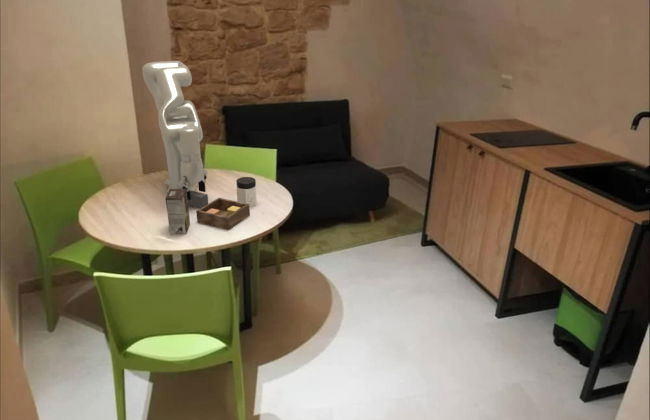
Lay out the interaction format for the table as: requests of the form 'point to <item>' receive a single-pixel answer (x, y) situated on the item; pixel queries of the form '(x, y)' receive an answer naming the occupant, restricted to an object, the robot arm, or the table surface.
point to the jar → (246, 190)
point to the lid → (197, 200)
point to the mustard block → (232, 210)
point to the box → (223, 213)
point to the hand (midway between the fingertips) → (195, 195)
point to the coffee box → (177, 211)
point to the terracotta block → (214, 211)
